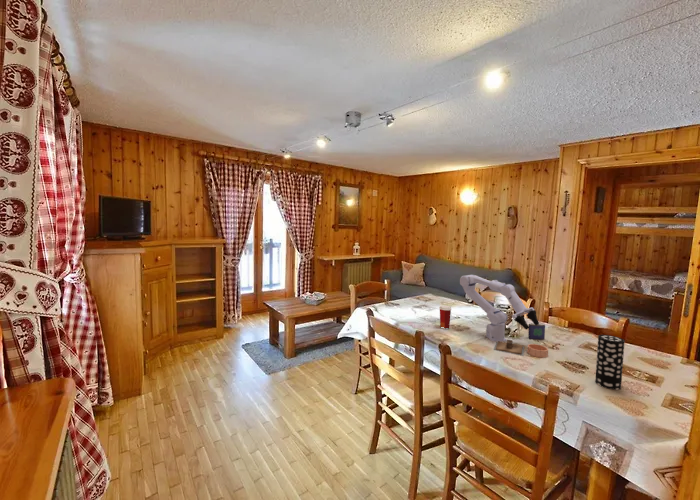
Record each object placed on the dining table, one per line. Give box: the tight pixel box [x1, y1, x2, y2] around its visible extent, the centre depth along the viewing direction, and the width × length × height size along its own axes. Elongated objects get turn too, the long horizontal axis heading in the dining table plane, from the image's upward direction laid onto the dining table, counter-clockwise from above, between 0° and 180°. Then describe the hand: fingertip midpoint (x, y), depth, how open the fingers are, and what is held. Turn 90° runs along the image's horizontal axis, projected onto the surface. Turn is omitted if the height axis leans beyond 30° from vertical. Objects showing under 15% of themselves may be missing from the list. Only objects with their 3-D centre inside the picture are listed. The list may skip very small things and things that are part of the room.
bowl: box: [527, 343, 549, 359], centre depth 157 cm, size 9×9×4 cm
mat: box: [493, 341, 525, 357], centre depth 164 cm, size 14×14×1 cm
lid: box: [495, 339, 524, 356], centre depth 164 cm, size 12×12×4 cm
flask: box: [527, 321, 546, 341], centre depth 179 cm, size 9×3×11 cm, turn 88°
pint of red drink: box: [438, 304, 452, 329], centre depth 198 cm, size 8×8×14 cm
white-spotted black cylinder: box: [594, 334, 625, 391], centre depth 127 cm, size 8×8×20 cm
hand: (532, 326), depth 163 cm, fingers open, 7 cm apart
